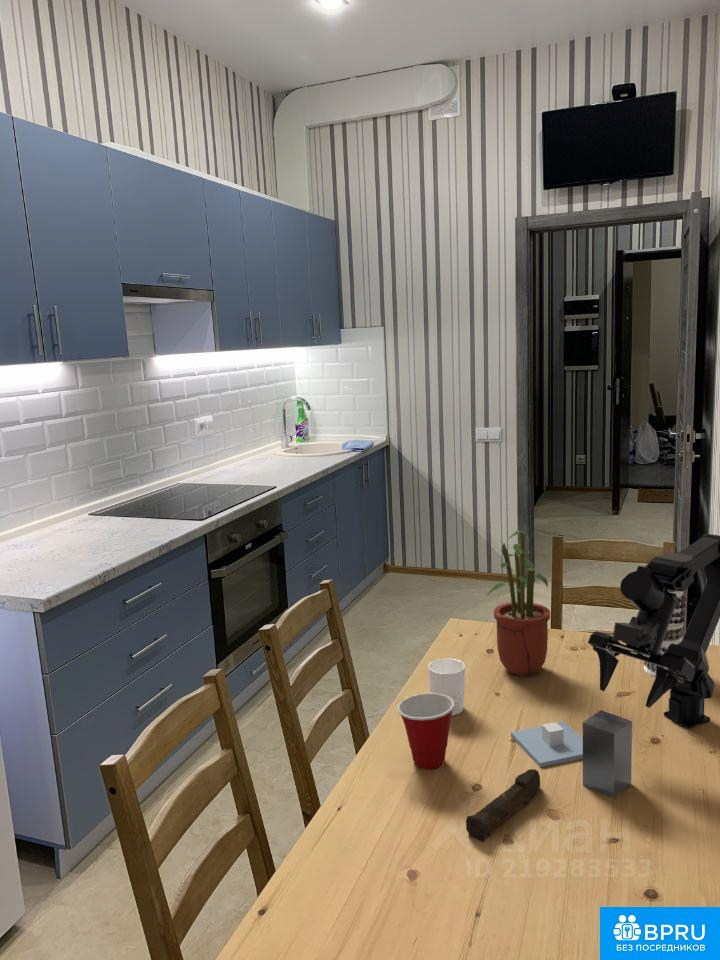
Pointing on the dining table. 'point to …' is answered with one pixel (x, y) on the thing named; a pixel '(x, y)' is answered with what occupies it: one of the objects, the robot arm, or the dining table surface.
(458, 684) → the white cup
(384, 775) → the dining table surface
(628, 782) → the grey block
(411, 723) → the plastic cup
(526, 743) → the base block
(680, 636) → the decorative candle
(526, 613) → the potted plant
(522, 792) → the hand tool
